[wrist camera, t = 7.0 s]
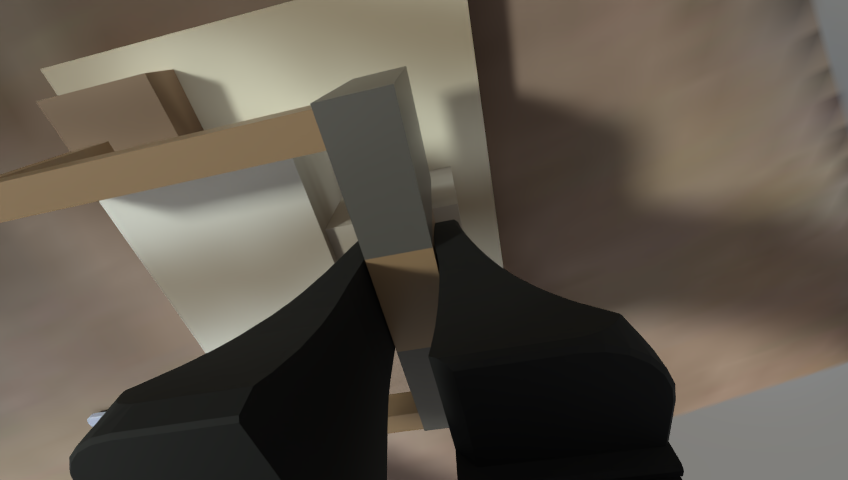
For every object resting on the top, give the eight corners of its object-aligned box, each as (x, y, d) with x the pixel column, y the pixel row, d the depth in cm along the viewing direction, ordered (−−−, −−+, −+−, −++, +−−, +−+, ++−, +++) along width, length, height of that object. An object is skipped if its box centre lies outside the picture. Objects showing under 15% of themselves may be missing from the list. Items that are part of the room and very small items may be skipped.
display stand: (504, 301, 20) (529, 388, 15) (247, 343, 21) (194, 433, 17) (457, -37, 13) (476, -82, 8) (76, 66, 14) (-104, 81, 9)
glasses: (462, 324, 15) (474, 424, 11) (229, 361, 16) (167, 463, 13) (406, 65, 11) (393, 84, 7) (84, 143, 12) (-90, 198, 8)
